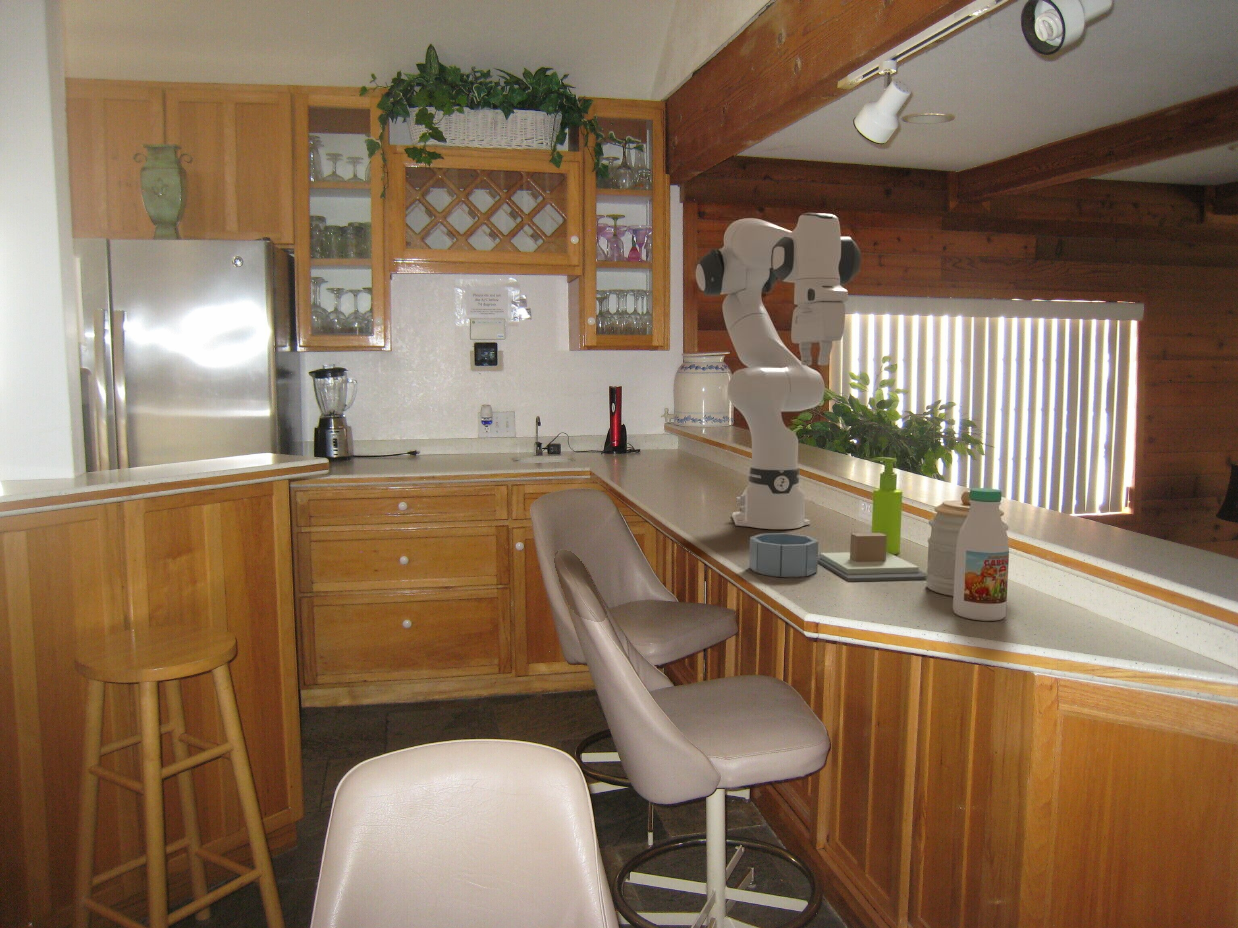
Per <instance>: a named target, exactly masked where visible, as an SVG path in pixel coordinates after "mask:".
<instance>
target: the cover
mask: <svg viewBox="0 0 1238 928" xmlns="http://www.w3.org/2000/svg"><path fill="white" fill-rule="evenodd" d="M886 545H887V536H886V535H884V534H882V533H872V532H858V533H856V532H852V533H850V548H849V550H850V551H847V552H820V553H819V555H820V558H821V559H823V560H824V561H826V562H828V563H829V564H831V565H833V566H834V567H836V568H838V569H839V570H841V571H843V572H845V573H846V574H875V573H916V572H919V570H920V567H919V566H917V565H915V564H913V563H911V562H909V561H907V560H906V559H902V558H901V557H898V556H896V555H895V554H890V553H888V552H886Z"/></svg>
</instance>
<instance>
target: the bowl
mask: <svg viewBox="0 0 1238 928" xmlns="http://www.w3.org/2000/svg"><path fill="white" fill-rule="evenodd" d="M818 555H819V540H817V539H816V538H813V537H812V536H809V535H804V534H796V533H786V532H779V533H778V532H774V533H773V532H772V533H769V532H768V533H759V534H756V535H753V536H749V566H748V567H749V568H750V569H751V570H752V571H753V572H754V573H757V574H760V575H762V576H763V575H764V576H768V577H775V578H776V577H777V578H803V577H805V578H806V577H809V576H812V575H815V573H817V572H818V565H819V563H818Z"/></svg>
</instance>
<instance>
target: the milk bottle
mask: <svg viewBox="0 0 1238 928" xmlns="http://www.w3.org/2000/svg"><path fill="white" fill-rule="evenodd" d="M969 491H970V493H969V498H970V501H969V503H970V504H971V506H970V511H969V514H968V516H967V518H966V520H965V522H964V524H963V526H962V528H961V530H960V532H959V535H958V539H957V546H956V559H955V576H954V595H953V596H952V597H953V599H952V609H953V613H954V614H955V615H957V616H958V617H962V618H964V619H970V620H976V621H986V622H990V621H992V622H993V621H1001V620H1003V619H1005V617H1006V613H1007V603H1008V599H1007V598H1008V583H1009V561H1010V558H1009V557H1010V543H1009V541H1010V540H1009V536H1008V533H1007V531H1006V530H1005V527H1004V525H1003V523H1002V521H1003V519H1002V516H1001V517H1000V512H999V509H1000V506H1001V505H1002V495H1003V494H1002V491H1001V490H1000V489H996V488H988V487H987V488H986V487H985V488H984V487H976V488H975V487H972V488H970V490H969ZM1001 519H1002V520H1001Z"/></svg>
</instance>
